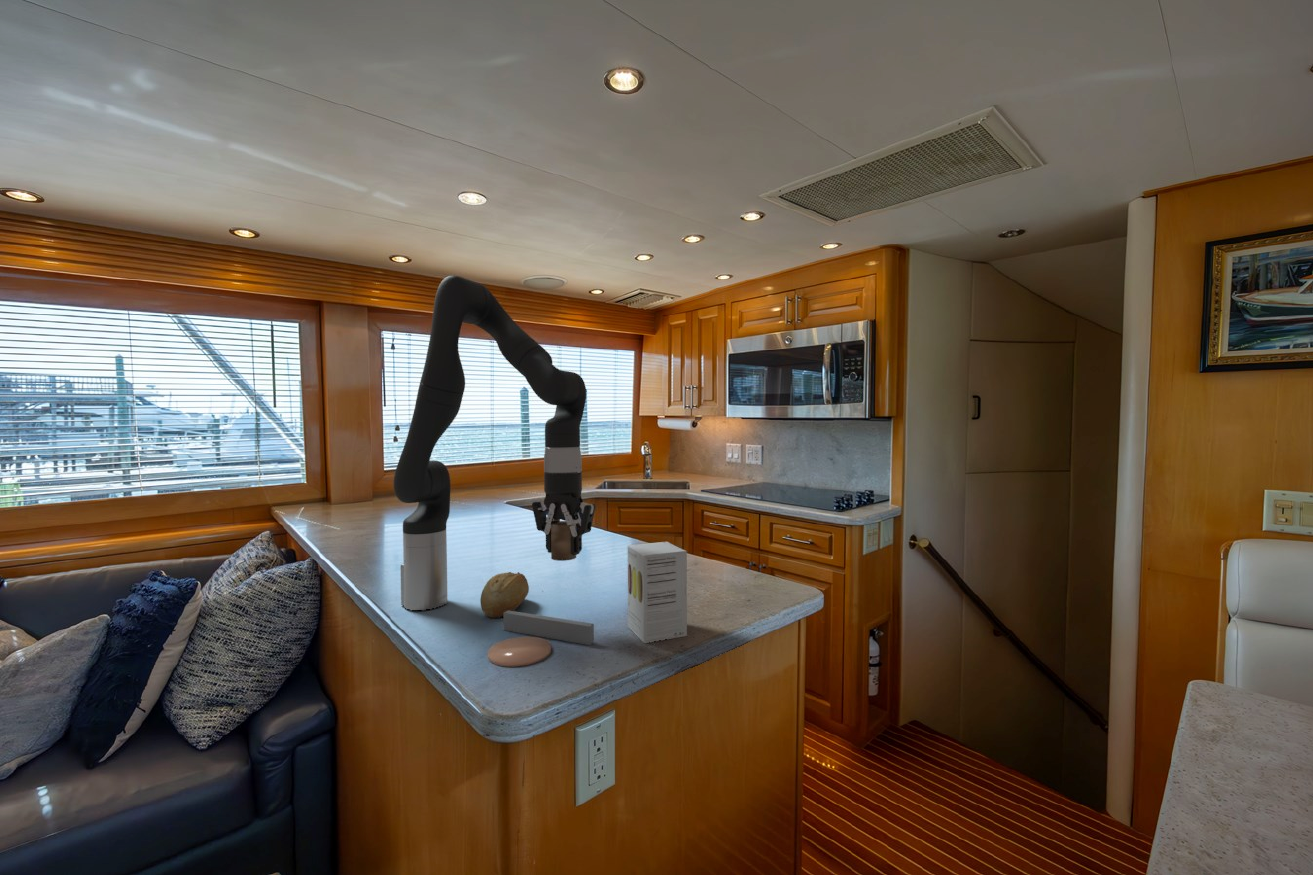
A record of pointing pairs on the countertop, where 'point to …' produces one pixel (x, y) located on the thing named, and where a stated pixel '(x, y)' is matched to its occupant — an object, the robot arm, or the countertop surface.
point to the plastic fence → (549, 627)
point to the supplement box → (657, 591)
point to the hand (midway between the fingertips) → (563, 552)
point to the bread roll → (503, 593)
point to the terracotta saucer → (519, 651)
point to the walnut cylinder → (561, 541)
